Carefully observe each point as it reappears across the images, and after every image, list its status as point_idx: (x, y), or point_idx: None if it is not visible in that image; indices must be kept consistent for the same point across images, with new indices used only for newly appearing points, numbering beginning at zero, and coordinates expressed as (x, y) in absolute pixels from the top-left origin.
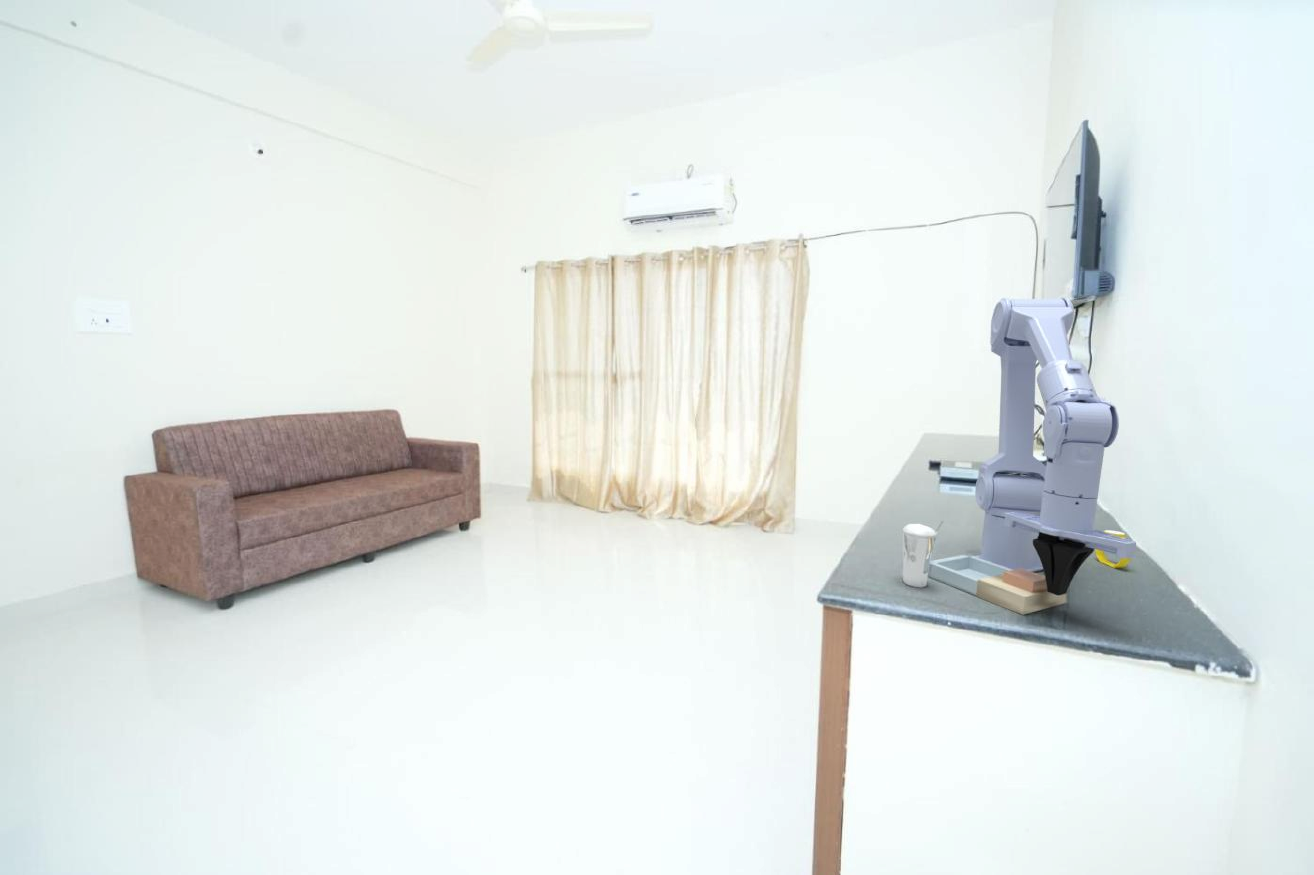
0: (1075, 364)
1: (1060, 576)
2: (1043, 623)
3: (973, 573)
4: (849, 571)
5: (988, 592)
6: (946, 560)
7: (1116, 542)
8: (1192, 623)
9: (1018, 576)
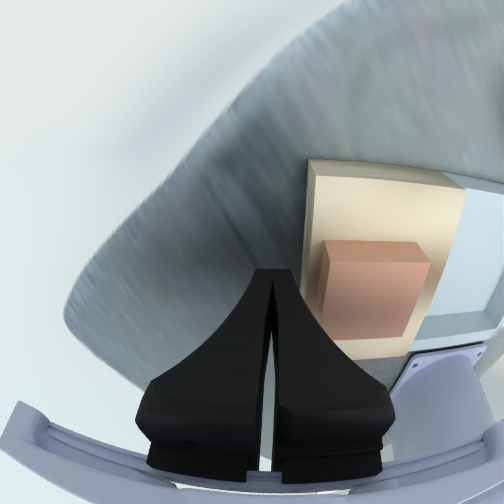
0: None
1: (240, 308)
2: (247, 159)
3: (475, 295)
4: None
5: (421, 176)
6: None
7: (16, 454)
8: None
9: (386, 266)
